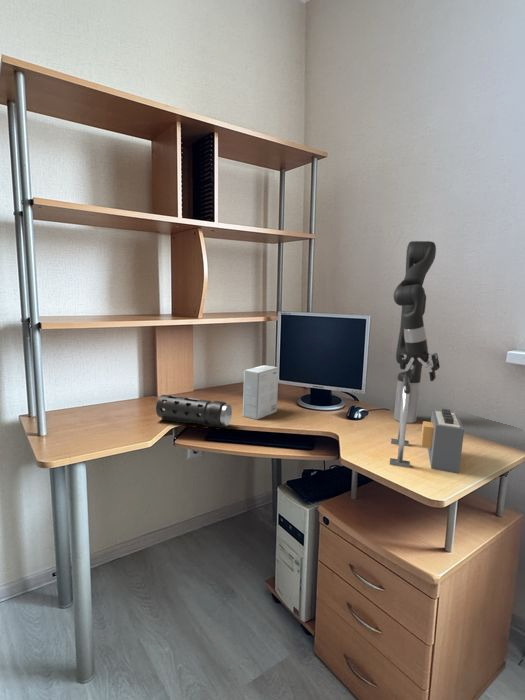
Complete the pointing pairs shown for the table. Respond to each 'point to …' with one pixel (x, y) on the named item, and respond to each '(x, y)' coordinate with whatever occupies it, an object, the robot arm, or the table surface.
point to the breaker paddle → (427, 434)
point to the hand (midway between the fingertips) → (421, 380)
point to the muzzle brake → (194, 411)
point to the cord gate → (402, 427)
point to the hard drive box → (260, 391)
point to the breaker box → (446, 441)
